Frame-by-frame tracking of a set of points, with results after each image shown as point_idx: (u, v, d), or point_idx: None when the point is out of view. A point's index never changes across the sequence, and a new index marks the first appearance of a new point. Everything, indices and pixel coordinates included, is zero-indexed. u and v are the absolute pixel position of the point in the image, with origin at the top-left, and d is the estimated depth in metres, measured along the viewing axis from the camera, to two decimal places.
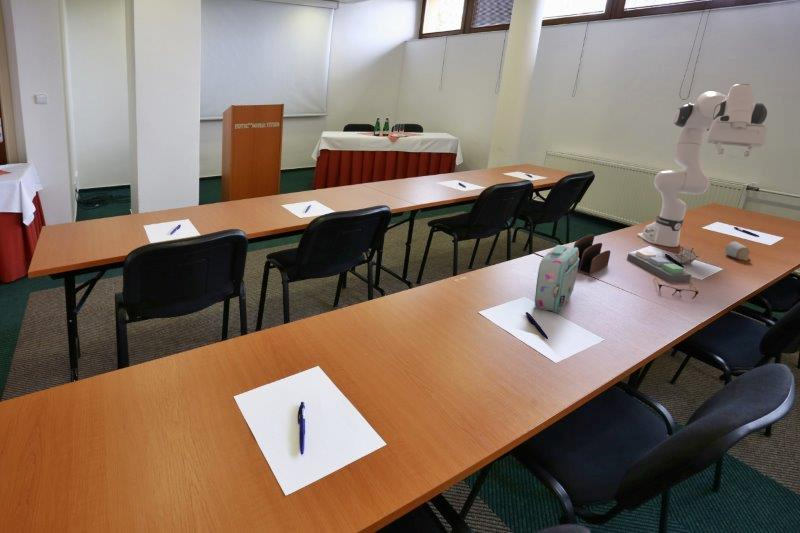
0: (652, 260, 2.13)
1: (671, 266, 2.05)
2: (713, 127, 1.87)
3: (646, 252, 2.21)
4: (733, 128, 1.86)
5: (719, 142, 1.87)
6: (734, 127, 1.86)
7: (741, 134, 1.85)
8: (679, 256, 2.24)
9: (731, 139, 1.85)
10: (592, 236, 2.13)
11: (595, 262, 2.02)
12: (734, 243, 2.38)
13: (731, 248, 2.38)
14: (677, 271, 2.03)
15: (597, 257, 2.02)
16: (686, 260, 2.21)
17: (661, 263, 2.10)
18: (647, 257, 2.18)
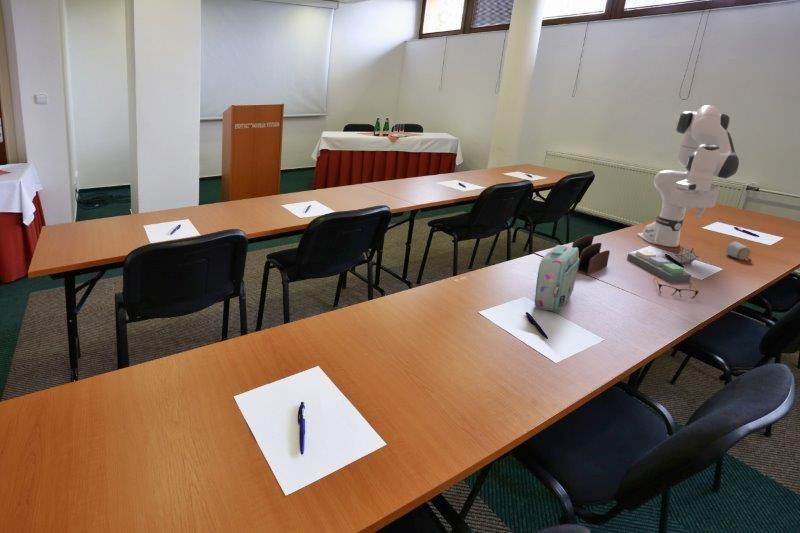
0: (652, 260, 2.13)
1: (671, 266, 2.05)
2: (681, 195, 1.89)
3: (646, 252, 2.21)
4: (695, 194, 1.91)
5: (682, 208, 1.93)
6: (696, 193, 1.91)
7: (699, 199, 1.93)
8: (679, 256, 2.24)
9: (691, 205, 1.93)
10: (591, 236, 2.13)
11: (593, 262, 2.02)
12: (735, 243, 2.38)
13: (732, 248, 2.38)
14: (677, 271, 2.03)
15: (595, 257, 2.02)
16: (686, 260, 2.21)
17: (661, 263, 2.10)
18: (647, 257, 2.18)
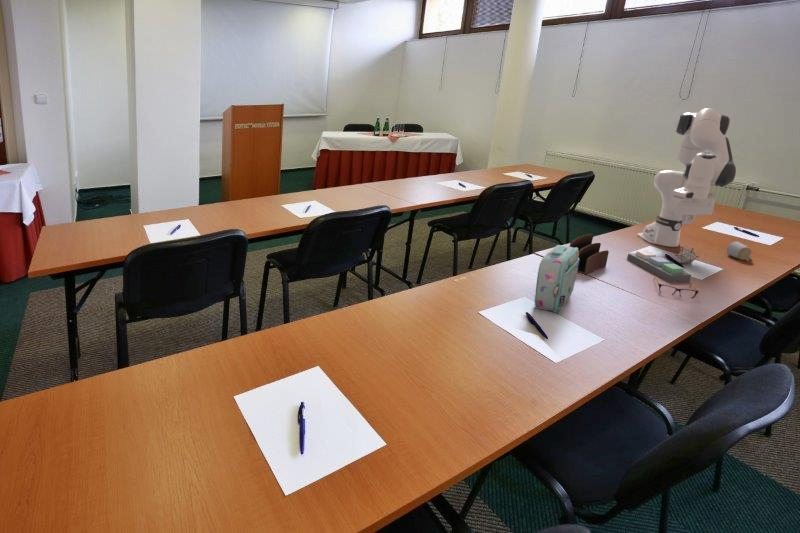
0: (652, 260, 2.13)
1: (671, 266, 2.05)
2: (678, 203, 1.91)
3: (646, 252, 2.21)
4: (692, 202, 1.92)
5: (686, 216, 1.95)
6: (694, 201, 1.92)
7: (697, 207, 1.94)
8: (679, 256, 2.24)
9: (689, 212, 1.94)
10: (590, 236, 2.14)
11: (591, 262, 2.02)
12: (736, 243, 2.39)
13: (733, 248, 2.38)
14: (677, 271, 2.03)
15: (593, 256, 2.02)
16: (686, 260, 2.21)
17: (661, 263, 2.10)
18: (647, 257, 2.18)
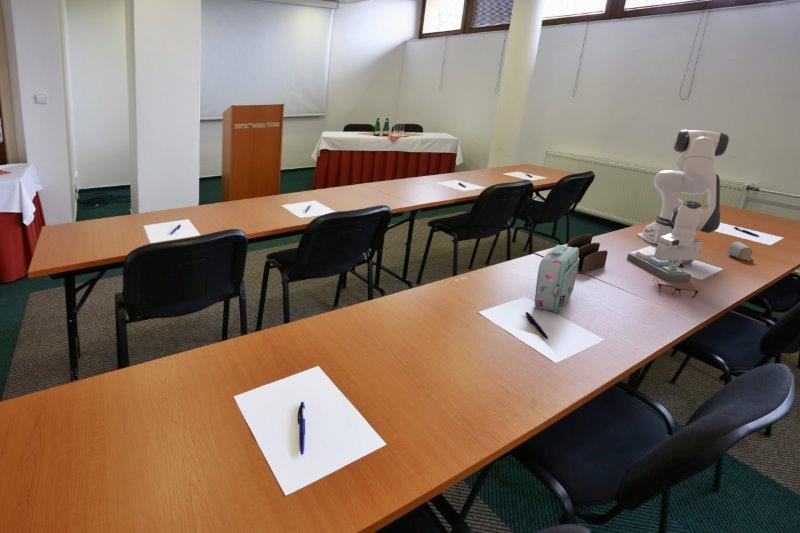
0: (652, 260, 2.13)
1: (670, 269, 2.05)
2: (665, 250, 1.98)
3: (646, 252, 2.21)
4: (678, 248, 2.00)
5: (673, 261, 2.03)
6: (680, 248, 1.99)
7: (683, 253, 2.01)
8: None
9: (675, 258, 2.01)
10: (589, 236, 2.14)
11: (588, 261, 2.03)
12: (737, 243, 2.39)
13: (734, 248, 2.38)
14: None
15: (590, 256, 2.03)
16: (686, 260, 2.21)
17: (661, 263, 2.10)
18: (647, 257, 2.18)
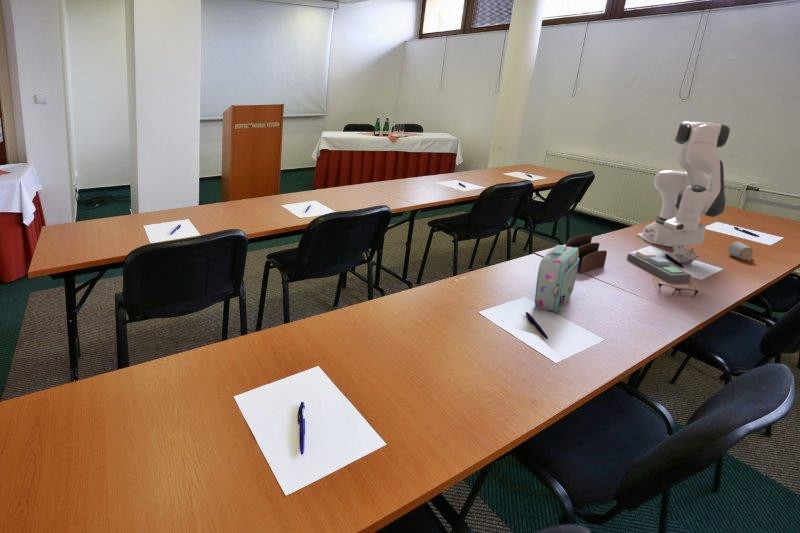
0: (652, 260, 2.13)
1: (670, 269, 2.05)
2: (669, 234, 1.96)
3: (646, 252, 2.21)
4: (683, 233, 1.98)
5: (677, 245, 2.00)
6: (684, 232, 1.97)
7: (687, 237, 1.99)
8: (679, 256, 2.24)
9: (679, 243, 1.99)
10: (589, 235, 2.14)
11: (586, 261, 2.03)
12: (737, 243, 2.39)
13: (734, 248, 2.38)
14: None
15: (589, 256, 2.03)
16: (686, 260, 2.21)
17: (661, 263, 2.10)
18: (647, 257, 2.18)
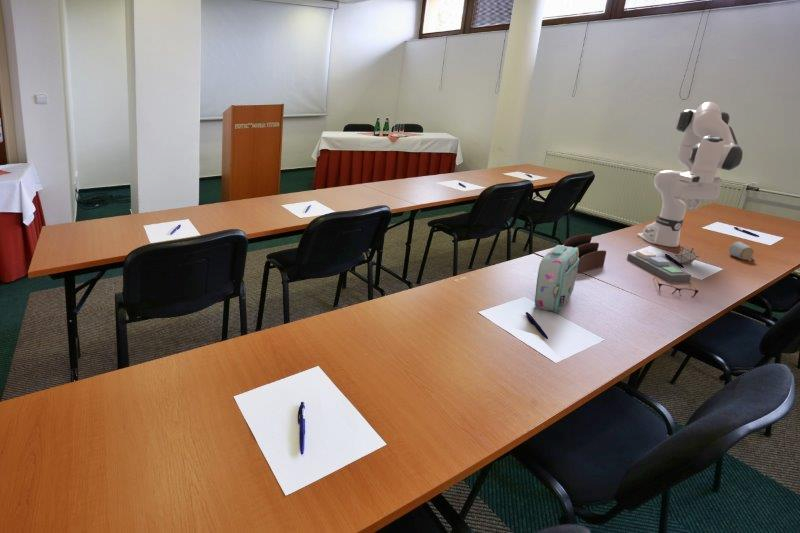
0: (652, 260, 2.13)
1: (670, 269, 2.05)
2: (684, 187, 1.89)
3: (646, 252, 2.21)
4: (698, 186, 1.91)
5: (693, 200, 1.94)
6: (700, 186, 1.91)
7: (703, 191, 1.92)
8: (679, 256, 2.24)
9: (695, 197, 1.93)
10: (588, 235, 2.14)
11: (584, 261, 2.03)
12: (738, 243, 2.39)
13: (735, 248, 2.38)
14: None
15: (587, 255, 2.03)
16: (686, 260, 2.21)
17: (661, 263, 2.10)
18: (647, 257, 2.18)
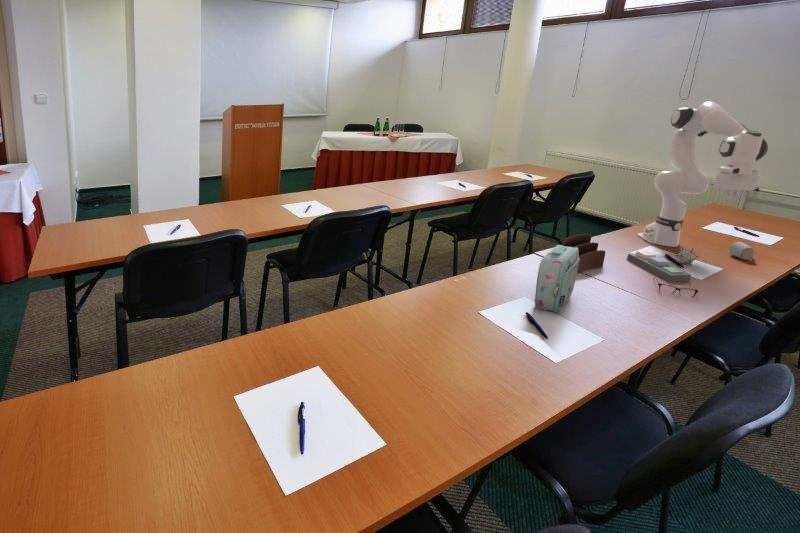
0: (652, 260, 2.13)
1: (670, 269, 2.05)
2: (725, 178, 2.03)
3: (646, 252, 2.21)
4: (738, 177, 2.05)
5: (732, 191, 2.07)
6: (739, 177, 2.04)
7: (742, 183, 2.06)
8: (679, 256, 2.24)
9: (734, 188, 2.06)
10: (587, 235, 2.14)
11: (583, 260, 2.04)
12: (739, 243, 2.39)
13: (736, 248, 2.38)
14: None
15: (585, 255, 2.03)
16: (686, 260, 2.21)
17: (661, 263, 2.10)
18: (647, 257, 2.18)
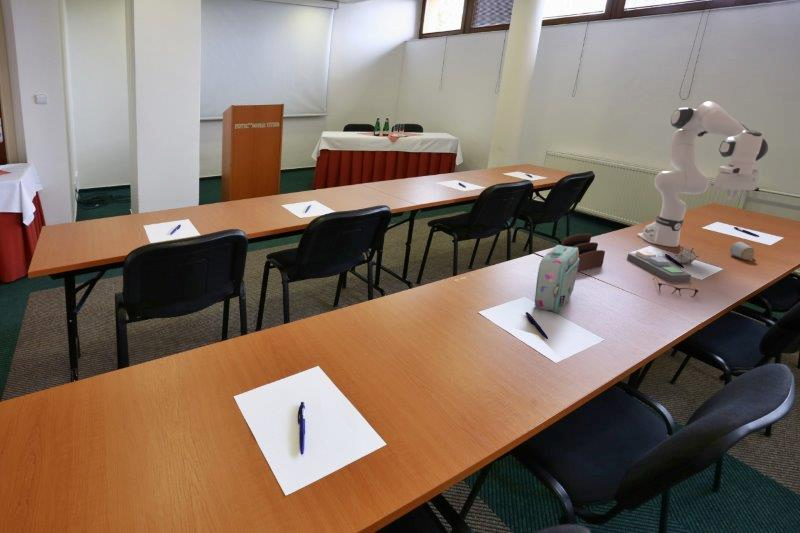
0: (652, 260, 2.13)
1: (670, 269, 2.05)
2: (725, 178, 2.03)
3: (646, 252, 2.21)
4: (738, 177, 2.05)
5: (732, 190, 2.07)
6: (739, 177, 2.04)
7: (742, 182, 2.06)
8: (679, 256, 2.24)
9: (734, 187, 2.06)
10: (587, 235, 2.14)
11: (581, 260, 2.04)
12: (739, 243, 2.39)
13: (736, 248, 2.38)
14: None
15: (584, 255, 2.04)
16: (686, 260, 2.21)
17: (661, 263, 2.10)
18: (647, 257, 2.18)
